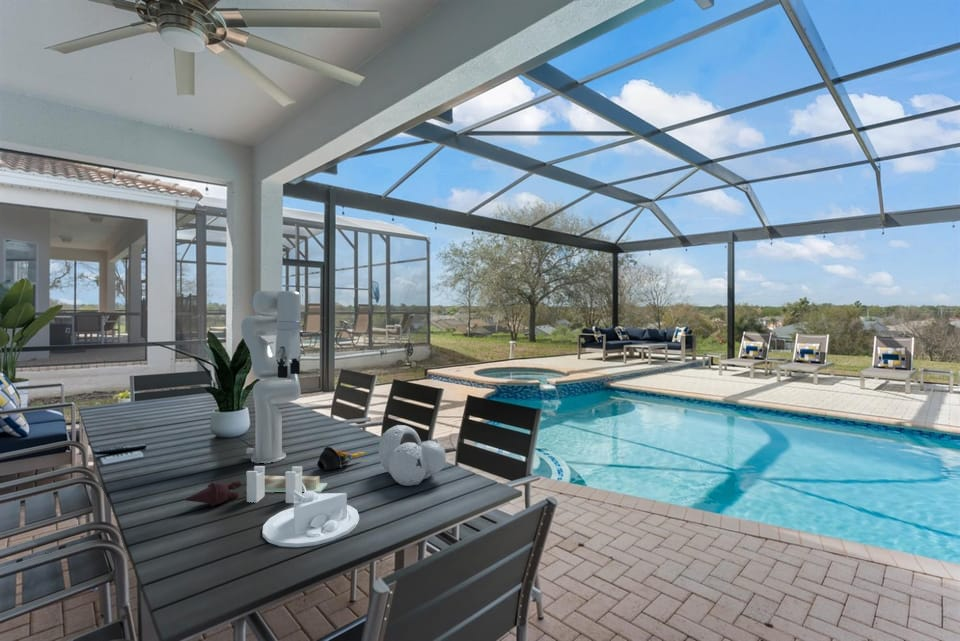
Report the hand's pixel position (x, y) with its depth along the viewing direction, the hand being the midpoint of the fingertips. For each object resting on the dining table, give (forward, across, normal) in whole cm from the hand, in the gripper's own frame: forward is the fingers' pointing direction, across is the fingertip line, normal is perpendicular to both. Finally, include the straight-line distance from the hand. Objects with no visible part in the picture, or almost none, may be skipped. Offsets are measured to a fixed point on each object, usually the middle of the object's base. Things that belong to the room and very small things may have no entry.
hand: (289, 375), depth 159 cm
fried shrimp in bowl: (+37, -14, +14) cm, 42 cm away
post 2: (+36, +17, +9) cm, 41 cm away
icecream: (+37, +21, -14) cm, 44 cm away
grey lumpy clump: (+37, -3, +41) cm, 55 cm away
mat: (+36, +8, +3) cm, 37 cm away
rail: (+36, +8, +3) cm, 37 cm away
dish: (+37, +33, +21) cm, 54 cm away
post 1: (+36, +17, -3) cm, 40 cm away
